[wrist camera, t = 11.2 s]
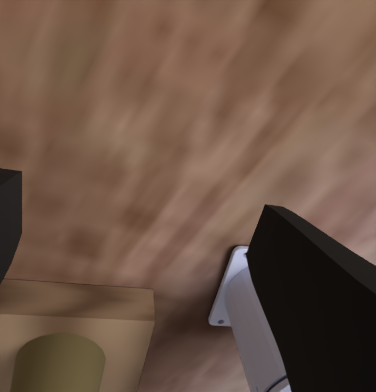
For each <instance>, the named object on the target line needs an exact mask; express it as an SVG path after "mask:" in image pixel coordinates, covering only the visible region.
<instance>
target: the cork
mask: <svg viewBox="0 0 376 392" xmlns="http://www.w3.org/2000/svg"><path fill="white" fill-rule="evenodd" d="M105 360H106V357H105V355H104V352H103V350H102V349H101V348H100V347H99V346H98V345H97V344H96V343H95V342H94V341H92V340H90V339H88V338H86V337H83V336H79V335H75V334H70V333H54V334H49V335H43V336H40V337H37V338H35V339H33V340H31V341H28V342H27V343H26V344H25V345H24V346H23V347H22V348H20V350H19V352H18V354H17V356H16V359H15V365H14V370H13V376H12V382H11V388H10V392H99V390H100V385H101V381H102V376H103V372H104V367H105Z"/></svg>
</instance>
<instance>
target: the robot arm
mask: <svg viewBox="0 0 376 392" xmlns="http://www.w3.org/2000/svg"><path fill="white" fill-rule="evenodd" d="M21 234H22V171H16V170H8V169H1V168H0V284H1V282H2V281H3V279H4V277H5V275H6V273H7V271H8V269H9V267H10V265H11V263H12V260H13V257H14V254H15V252H16V249H17V246H18V243H19V240H20V237H21ZM246 252H247V253H246ZM244 253H246V254H244ZM208 320H209V324H210V325H213V326H231V327H232V331H233V334H234V338H235V341H236V344H237V348H238V351H239V355H240V358H241V361H242V365H243V368H244V371H245V375H246V378H247V382H248V385H249V388H250V392H376V266H375V265H373V264H372V263H370V262H368V261H367V260H365V259H364V258H362V257H360V256H359V255H357V254H356V253H354V252H352V251H351V250H349V249H348V248H346V247H345V246H343V245H342V244H340V243H339V242H337V241H336V240H334V239H333V238H331V237H330V236H328V235H327V234H325V233H324V232H322V231H321V230H319V229H318V228H316V227H315V226H313V225H312V224H311V223H309V222H308V221H306V220H305V219H303V218H301V217H300V216H298V215H297V214H295V213H293V212H292V211H290V210H288V209H286V208H284V207H281V206H274V205H266V204H265V206H264V209H263V211H262V214H261V216H260V219H259V222H258V224H257V227H256V229H255V232H254V235H253V237H252V240H251V242H250V245H249V247H247V246H238V247H236V248H234V250H233V252H232V254H231V257H230V260H229V263H228V265H227V268H226V271H225V274H224V276H223V279H222V282H221V285H220V288H219V290H218V293H217V296H216V299H215V301H214V304H213V307H212V310H211V312H210V315H209V318H208Z"/></svg>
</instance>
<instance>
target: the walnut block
mask: <svg viewBox="0 0 376 392" xmlns="http://www.w3.org/2000/svg"><path fill="white" fill-rule="evenodd" d="M154 325H155V309H154V293H153V289H143V288H129V287H114V286H100V285H85V284H70V283H56V282H41V281H27V280H12V279H3V281H2V282H1V284H0V392H10V388H11V382H12V376H13V370H14V365H15V359H16V356H17V354H18V352H19V350H20V348H22V347H23V346H24V345H25V344H26V343H27V342H28V341H31V340H33V339H35V338H37V337H40V336H43V335H49V334H54V333H70V334H75V335H79V336H83V337H86V338H88V339H90V340H92V341H94V342H95V343H96V344H97V345H98V346H99V347H100V348H101V349H102V350H103V352H104V355H105V357H106V360H105V367H104V372H103V376H102V381H101V385H100V390H99V392H137V390H138V386H139V382H140V378H141V374H142V371H143V367H144V363H145V359H146V355H147V351H148V348H149V344H150V340H151V336H152V332H153V328H154Z"/></svg>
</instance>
